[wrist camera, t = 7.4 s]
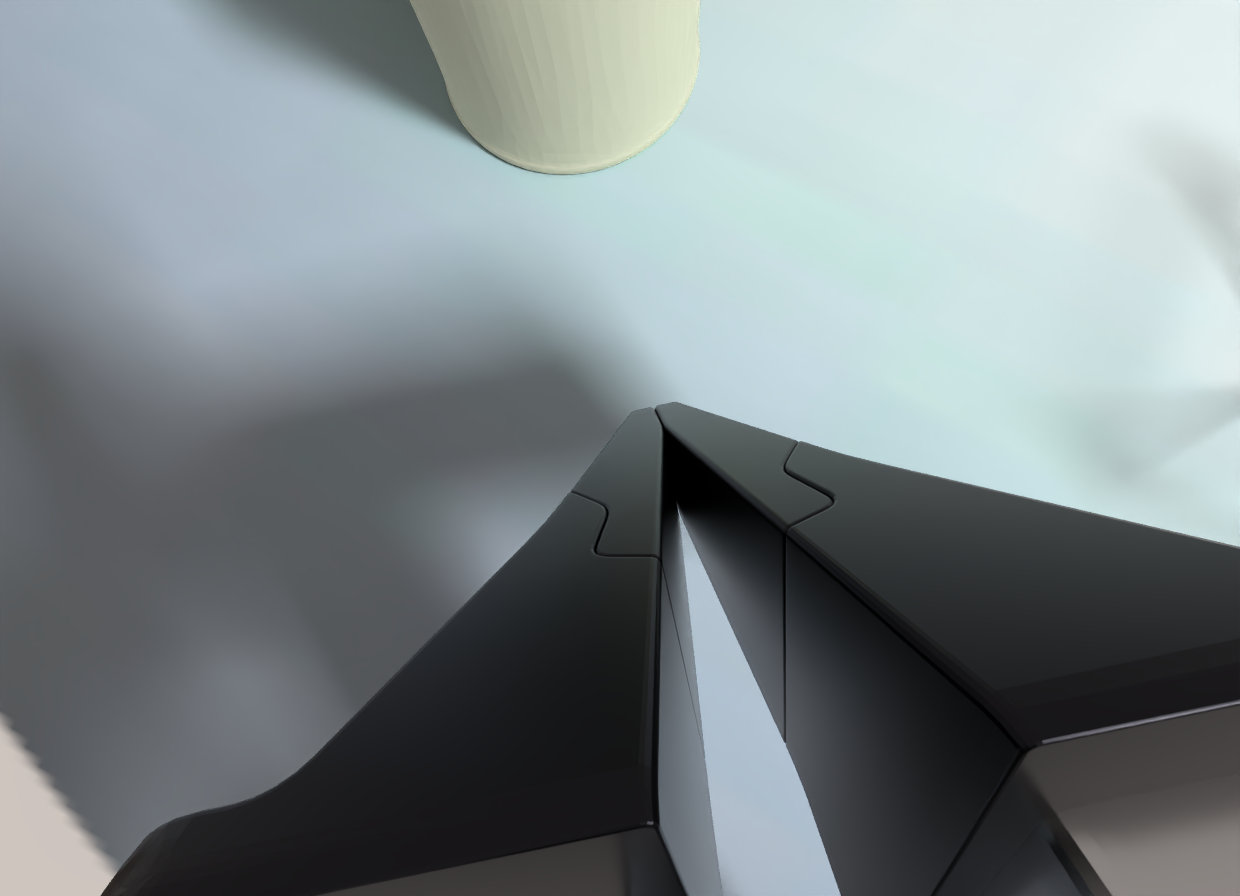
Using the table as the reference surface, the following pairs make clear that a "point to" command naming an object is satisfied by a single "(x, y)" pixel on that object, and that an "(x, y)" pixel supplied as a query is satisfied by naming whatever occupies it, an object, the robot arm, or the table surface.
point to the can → (565, 75)
